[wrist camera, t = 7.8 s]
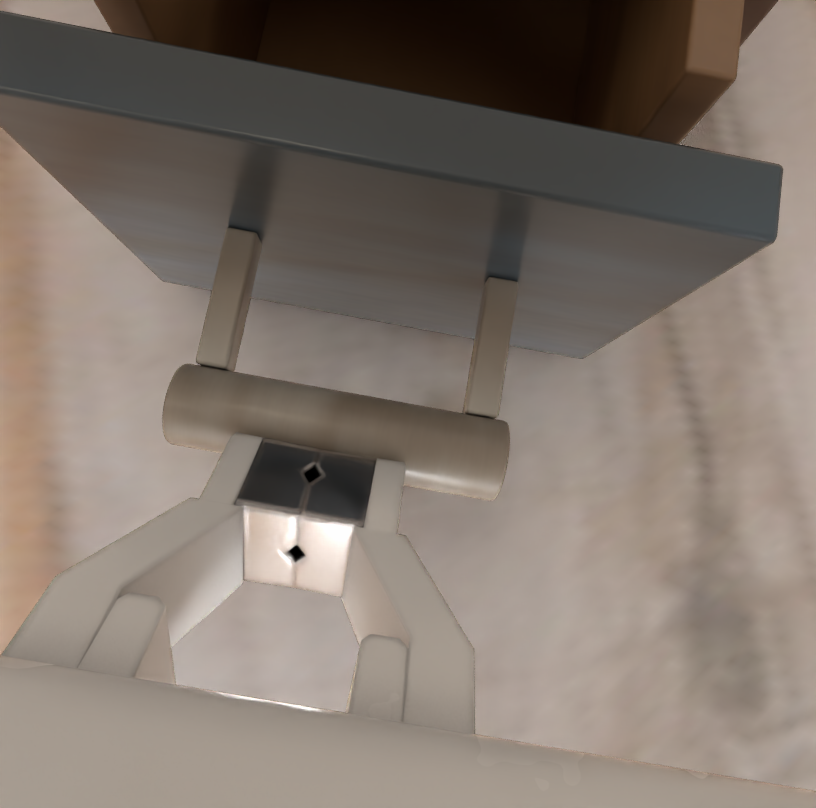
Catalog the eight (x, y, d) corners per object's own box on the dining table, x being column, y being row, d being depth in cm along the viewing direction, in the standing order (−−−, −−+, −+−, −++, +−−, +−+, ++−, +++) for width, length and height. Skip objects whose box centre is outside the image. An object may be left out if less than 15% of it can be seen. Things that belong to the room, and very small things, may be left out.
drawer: (562, 514, 15) (753, 545, 8) (122, 436, 15) (-148, 385, 7) (638, -43, 18) (841, -452, 10) (260, -121, 17) (167, -607, 10)
